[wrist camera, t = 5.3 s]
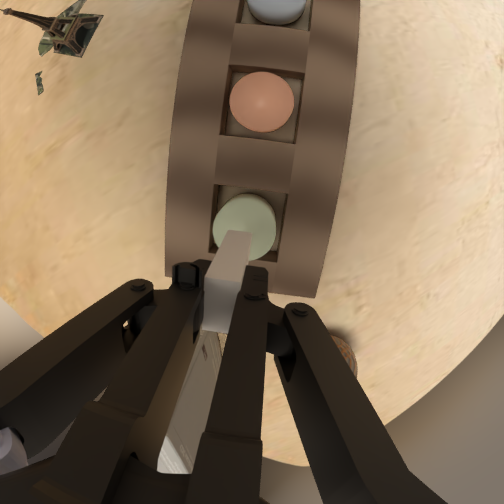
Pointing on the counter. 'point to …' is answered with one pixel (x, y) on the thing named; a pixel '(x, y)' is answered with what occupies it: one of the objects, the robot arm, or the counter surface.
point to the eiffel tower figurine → (62, 32)
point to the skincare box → (191, 407)
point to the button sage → (247, 222)
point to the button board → (257, 150)
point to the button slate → (276, 10)
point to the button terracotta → (261, 102)
